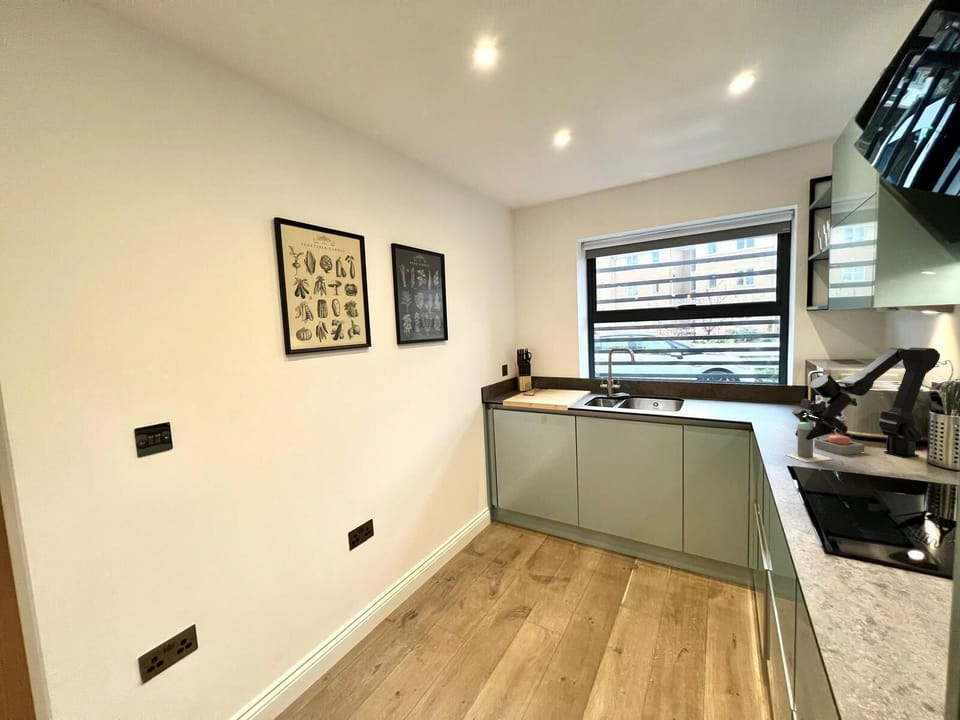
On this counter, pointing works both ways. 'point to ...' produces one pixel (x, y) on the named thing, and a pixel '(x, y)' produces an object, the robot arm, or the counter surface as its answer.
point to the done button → (839, 440)
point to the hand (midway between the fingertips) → (801, 437)
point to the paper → (810, 458)
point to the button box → (839, 447)
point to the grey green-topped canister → (804, 439)
